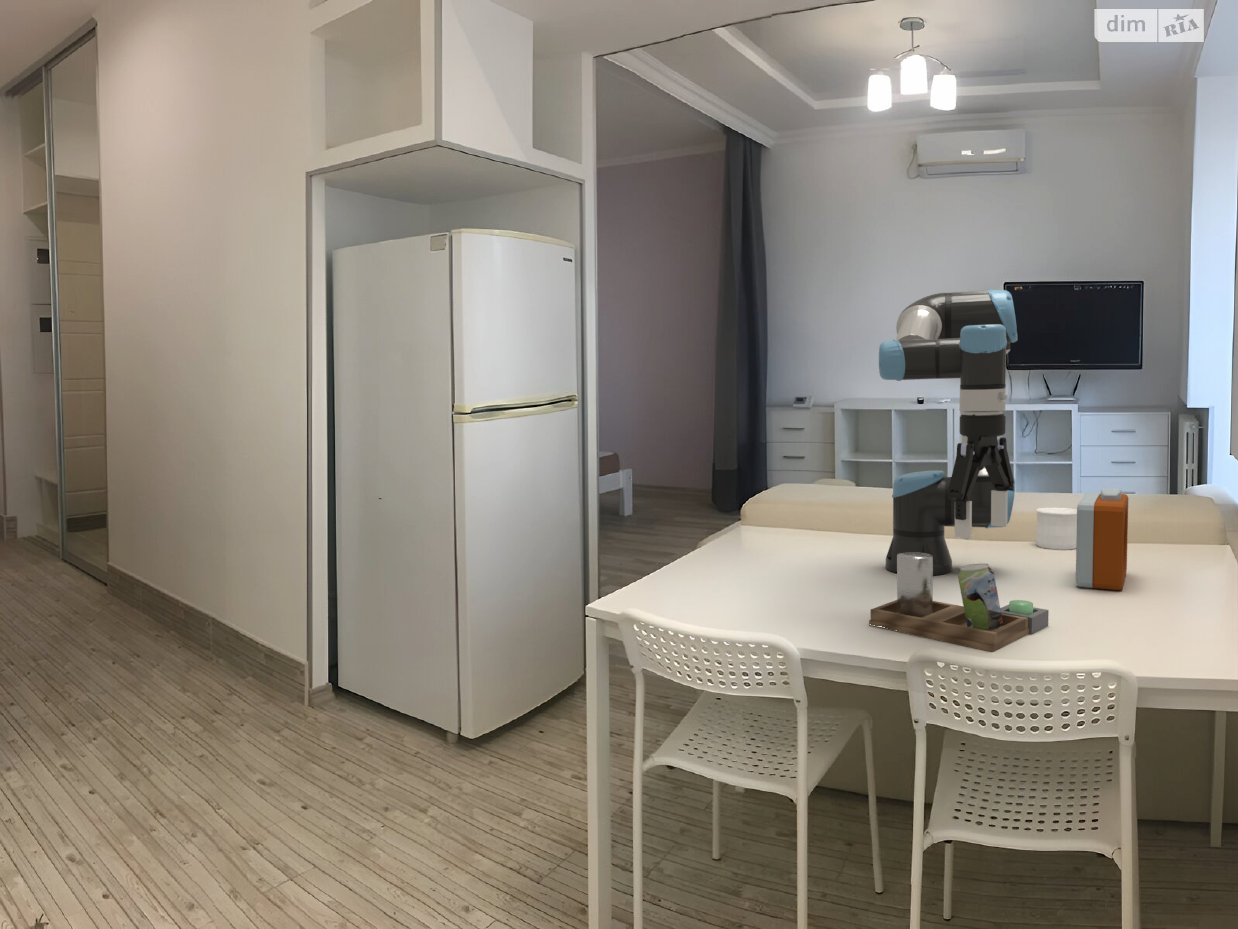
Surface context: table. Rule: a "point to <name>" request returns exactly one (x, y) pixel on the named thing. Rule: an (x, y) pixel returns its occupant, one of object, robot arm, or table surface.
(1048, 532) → the cup
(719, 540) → the table surface
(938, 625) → the wooden divided tray
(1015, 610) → the button
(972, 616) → the beverage can
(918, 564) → the seated billet
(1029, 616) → the button housing
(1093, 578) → the orange and grey box
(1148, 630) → the table surface
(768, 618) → the table surface
